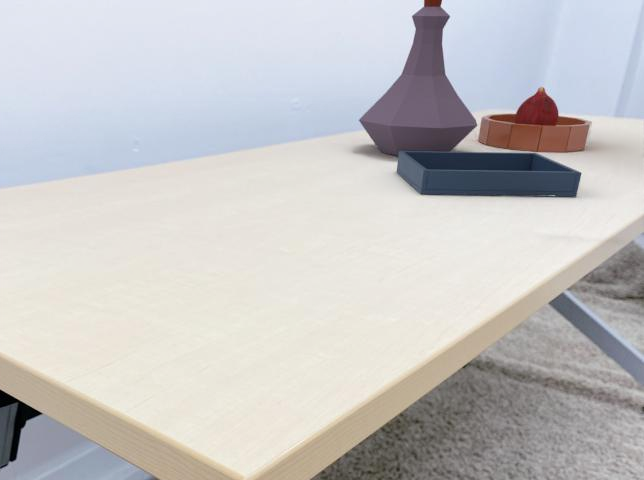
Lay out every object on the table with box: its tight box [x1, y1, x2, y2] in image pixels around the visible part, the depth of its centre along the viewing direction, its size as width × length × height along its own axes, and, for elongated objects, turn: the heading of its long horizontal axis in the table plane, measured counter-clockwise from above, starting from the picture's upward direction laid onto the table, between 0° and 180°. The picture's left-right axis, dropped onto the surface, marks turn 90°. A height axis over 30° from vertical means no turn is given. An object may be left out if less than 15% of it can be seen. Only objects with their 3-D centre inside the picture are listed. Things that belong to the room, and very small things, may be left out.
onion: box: [515, 86, 560, 125], centre depth 104 cm, size 6×6×8 cm
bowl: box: [477, 113, 593, 153], centre depth 105 cm, size 15×15×4 cm
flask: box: [358, 0, 478, 157], centre depth 94 cm, size 16×16×20 cm
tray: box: [396, 151, 582, 198], centre depth 79 cm, size 16×12×2 cm
